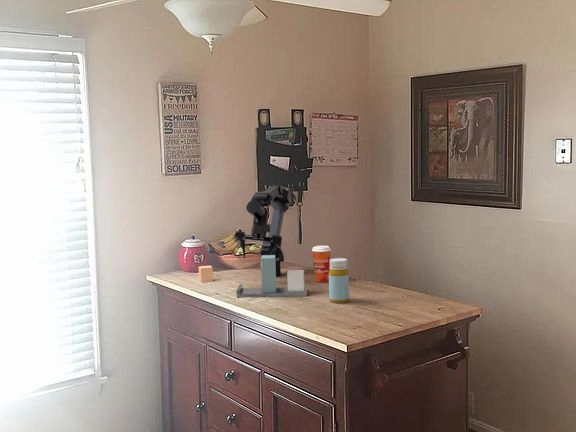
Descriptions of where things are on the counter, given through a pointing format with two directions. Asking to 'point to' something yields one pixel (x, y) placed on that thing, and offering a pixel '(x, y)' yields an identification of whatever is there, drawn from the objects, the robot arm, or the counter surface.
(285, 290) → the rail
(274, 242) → the robot arm
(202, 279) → the block
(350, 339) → the counter surface
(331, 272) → the bottle
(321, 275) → the paper cup
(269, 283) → the block
